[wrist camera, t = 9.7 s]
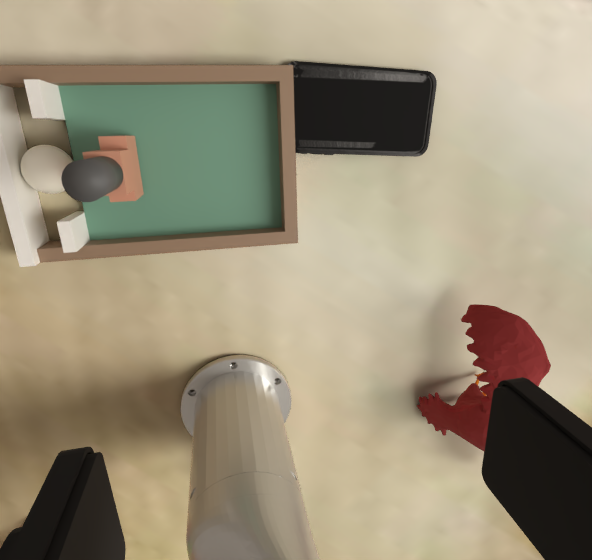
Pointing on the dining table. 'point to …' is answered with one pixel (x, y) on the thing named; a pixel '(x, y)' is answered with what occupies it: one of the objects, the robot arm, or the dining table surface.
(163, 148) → the pitch
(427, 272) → the dining table surface
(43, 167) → the ball
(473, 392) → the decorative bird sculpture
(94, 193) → the kicker
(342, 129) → the phone
